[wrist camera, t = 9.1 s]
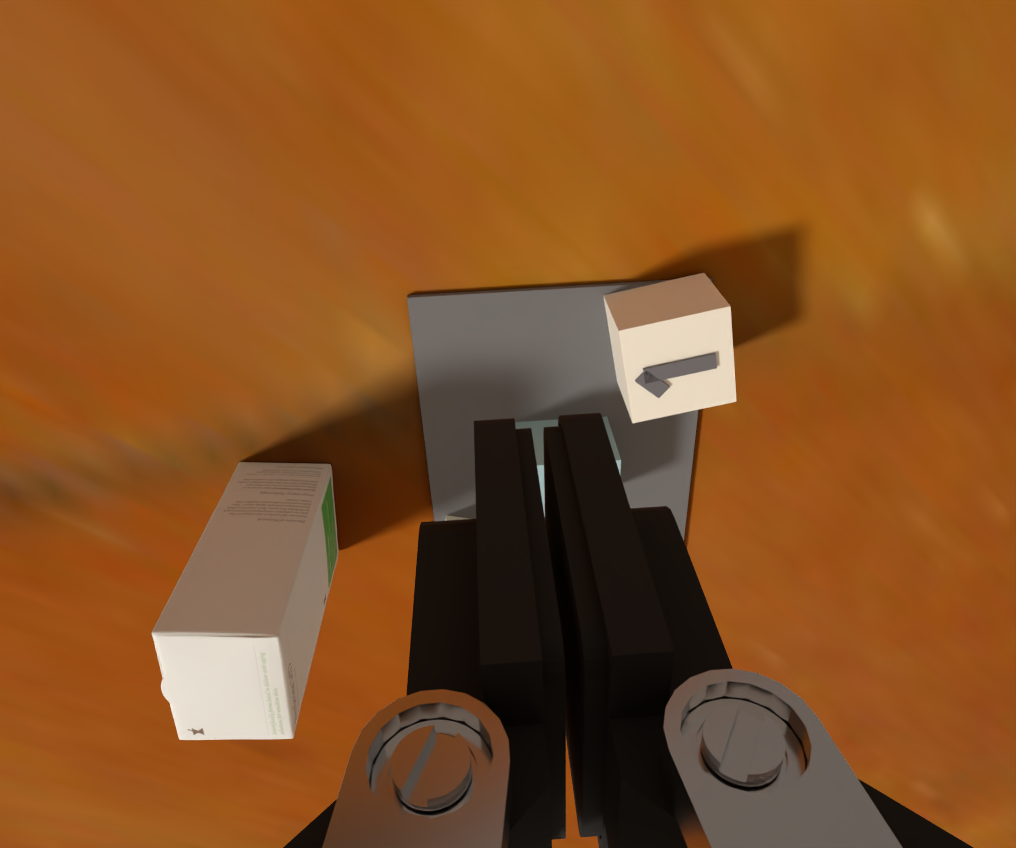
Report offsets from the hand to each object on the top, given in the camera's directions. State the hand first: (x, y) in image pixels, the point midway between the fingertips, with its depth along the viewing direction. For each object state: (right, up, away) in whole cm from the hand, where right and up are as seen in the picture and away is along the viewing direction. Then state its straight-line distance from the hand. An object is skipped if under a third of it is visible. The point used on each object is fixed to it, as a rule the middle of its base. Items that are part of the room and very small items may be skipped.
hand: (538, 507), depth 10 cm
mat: (+3, -1, +40) cm, 40 cm away
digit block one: (+9, +7, +35) cm, 37 cm away
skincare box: (-16, -5, +41) cm, 44 cm away
